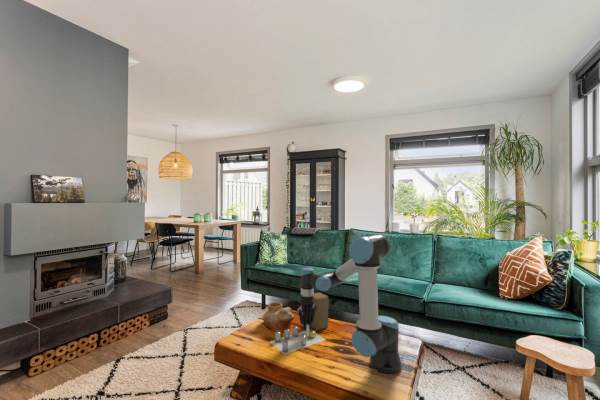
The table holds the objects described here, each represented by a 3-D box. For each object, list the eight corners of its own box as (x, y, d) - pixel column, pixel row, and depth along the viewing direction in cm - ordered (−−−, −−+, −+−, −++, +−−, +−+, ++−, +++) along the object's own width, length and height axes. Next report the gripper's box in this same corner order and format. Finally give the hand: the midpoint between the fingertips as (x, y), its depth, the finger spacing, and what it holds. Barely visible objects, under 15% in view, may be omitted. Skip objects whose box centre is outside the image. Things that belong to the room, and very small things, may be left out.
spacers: (310, 344, 162) (310, 335, 162) (284, 353, 152) (284, 343, 152) (296, 334, 173) (296, 325, 173) (271, 341, 164) (271, 333, 164)
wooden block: (319, 321, 193) (319, 291, 193) (328, 327, 185) (329, 296, 185) (306, 325, 187) (307, 294, 187) (316, 331, 179) (316, 299, 179)
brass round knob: (317, 336, 170) (317, 331, 170) (311, 339, 167) (311, 334, 167) (311, 333, 174) (311, 328, 174) (305, 336, 171) (305, 331, 171)
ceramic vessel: (280, 339, 169) (281, 313, 169) (258, 323, 190) (259, 300, 190) (299, 332, 177) (300, 308, 177) (276, 318, 198) (277, 296, 198)
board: (326, 341, 167) (326, 339, 167) (284, 356, 151) (284, 354, 151) (309, 330, 180) (309, 329, 180) (269, 343, 164) (269, 341, 164)
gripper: (312, 291, 175) (311, 330, 176) (294, 295, 168) (293, 335, 168) (319, 294, 169) (319, 335, 169) (301, 299, 162) (301, 341, 162)
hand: (306, 335), depth 169 cm, fingers closed
